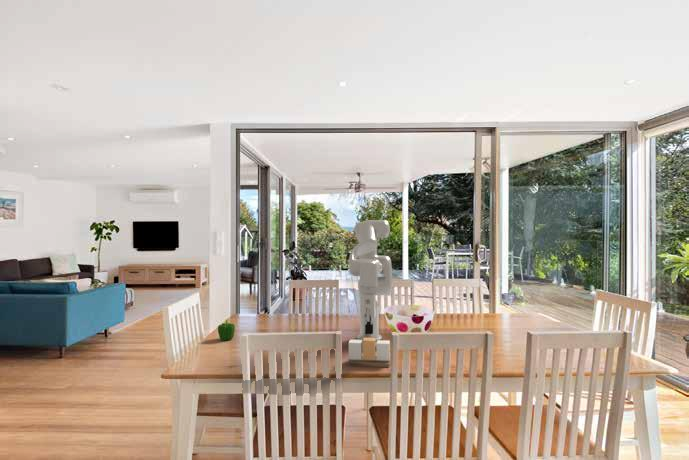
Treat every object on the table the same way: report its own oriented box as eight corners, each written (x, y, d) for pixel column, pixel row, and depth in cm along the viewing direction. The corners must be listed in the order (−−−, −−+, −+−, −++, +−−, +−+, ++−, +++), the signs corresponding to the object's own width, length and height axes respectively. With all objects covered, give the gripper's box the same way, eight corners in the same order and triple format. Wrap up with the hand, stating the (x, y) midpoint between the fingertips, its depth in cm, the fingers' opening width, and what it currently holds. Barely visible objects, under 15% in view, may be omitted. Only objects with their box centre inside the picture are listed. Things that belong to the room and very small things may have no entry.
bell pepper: (230, 342, 213) (230, 322, 213) (215, 341, 214) (215, 321, 214) (237, 337, 221) (237, 318, 221) (223, 337, 223) (223, 318, 223)
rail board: (351, 358, 185) (350, 337, 185) (390, 359, 182) (389, 338, 182) (348, 365, 175) (347, 344, 175) (389, 367, 172) (389, 345, 172)
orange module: (375, 356, 181) (375, 337, 181) (374, 360, 176) (374, 341, 176) (363, 356, 181) (363, 337, 181) (362, 359, 176) (362, 340, 176)
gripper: (376, 292, 170) (377, 338, 170) (378, 287, 185) (379, 329, 185) (357, 292, 171) (358, 337, 171) (361, 287, 186) (362, 329, 186)
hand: (369, 333), depth 178 cm, fingers closed
